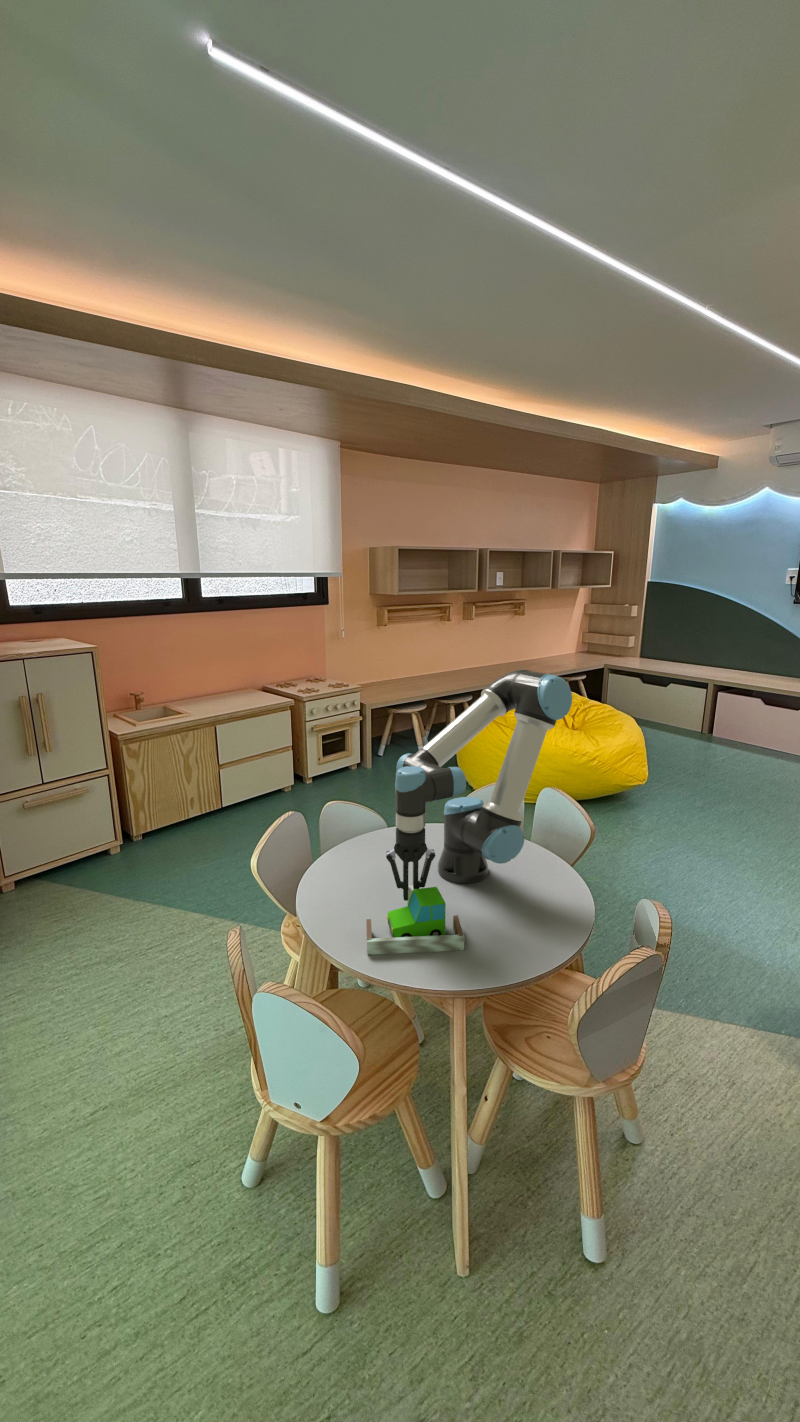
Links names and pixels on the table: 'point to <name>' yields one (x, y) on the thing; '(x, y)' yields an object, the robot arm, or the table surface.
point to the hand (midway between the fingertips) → (410, 910)
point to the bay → (416, 942)
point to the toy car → (419, 915)
